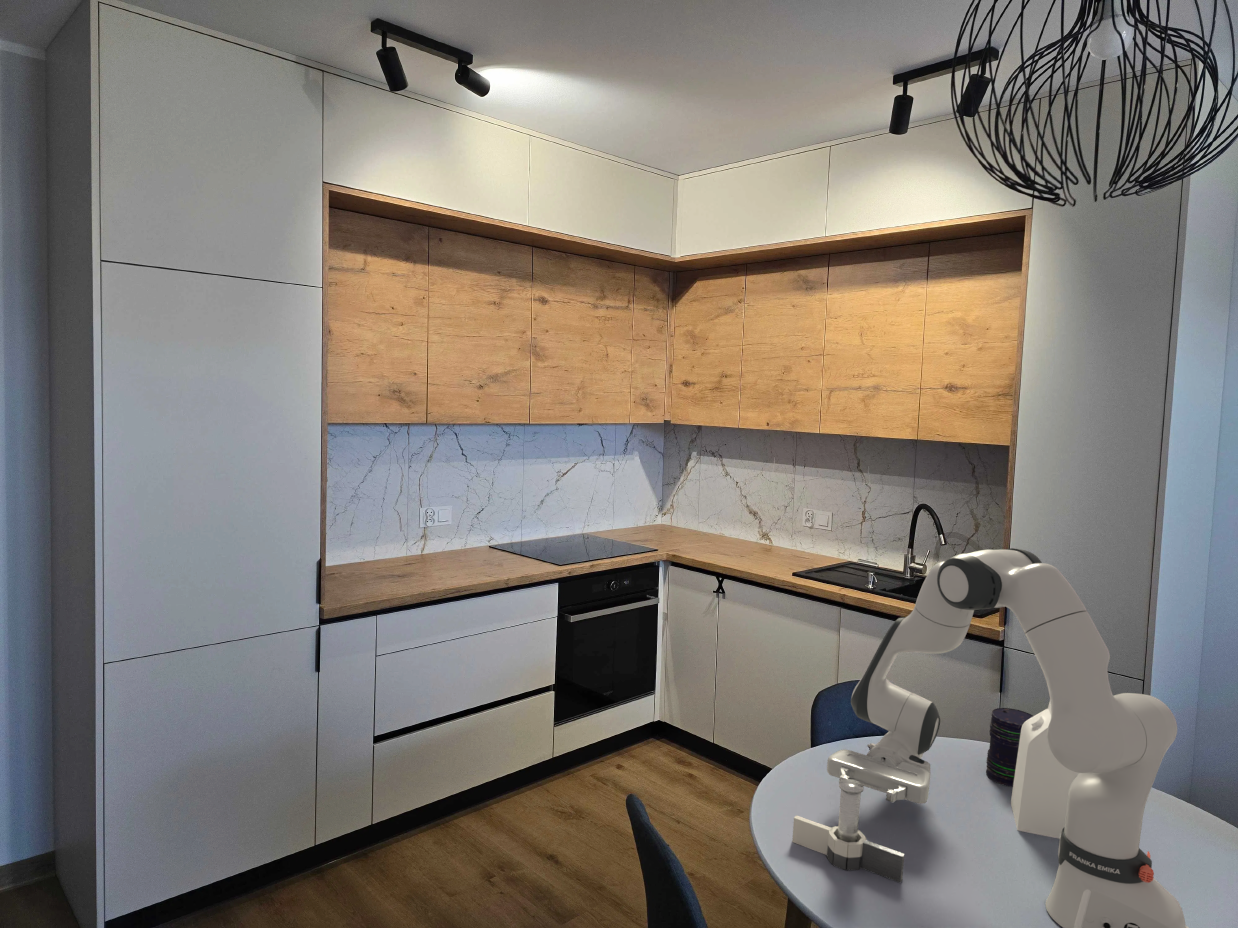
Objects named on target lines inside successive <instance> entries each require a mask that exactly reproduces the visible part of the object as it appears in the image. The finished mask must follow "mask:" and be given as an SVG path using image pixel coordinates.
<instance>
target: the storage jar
mask: <svg viewBox="0 0 1238 928" xmlns="http://www.w3.org/2000/svg"><path fill="white" fill-rule="evenodd" d="M1033 716H1034V715H1033V714H1031V713H1029V712H1027V711H1024V710H1020V709H1017V708H1010V707H1009V708H1008V707H997V708H994V709H992V710H991V717H990V722H989V723H990V724H989V736H990V737H989V738H990V739H989V747H988V749H987V755H986V770H985V775H986V777H987V778H988V779H989V780H991V781H993V782H995V783H996V784H999V785H1001V786H1005V787H1009V788H1013V784H1014V777H1015V769H1016V762H1017V755H1018V748H1019V741H1020V734H1021V728H1022V725H1023V724H1024V722H1025V721H1027V720H1028V719H1030V718H1031V717H1033Z"/></svg>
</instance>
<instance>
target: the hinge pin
mask: <svg viewBox="0 0 1238 928" xmlns="http://www.w3.org/2000/svg"><path fill="white" fill-rule="evenodd" d="M838 787H839V789H840V798H839V811H838V812H839V813H838V825H837V826H838V835H837V839H840V840H842V841H845V842H848V843H849V842H857V836H858V830H859V820H860V810H861V808H860V807H861V796H862V795H861V794H862V792H864V788H865V786H863V784H862V783H860V782H858V781H856V780H852V779H843V780H841V781H840V782H839V781H838Z"/></svg>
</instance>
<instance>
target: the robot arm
mask: <svg viewBox="0 0 1238 928" xmlns="http://www.w3.org/2000/svg"><path fill="white" fill-rule="evenodd" d="M1005 607H1006V608H1007V609H1009V610H1010V611H1011V612H1012V613H1013V614H1014V615H1015V617H1016V619H1017V620H1018V622H1019V624H1020V627H1021V629H1022V631H1023V633H1024V635H1025V637H1026V639H1027V641H1028V643H1029V645H1030V648H1031V649H1032V651H1033V654H1034V656H1035V658H1036V660H1037V662H1038V664H1039V666H1040V668H1041V670H1042V673H1043V676H1044V679H1045V682H1046V685H1047V690H1048V695H1049V702H1051V720H1050V723H1049V726H1048V730H1047V740H1048V744H1049V747H1050V750H1051V752H1052V753H1053V755H1054V757H1055V758H1056V759H1057V760H1058V761H1059V762H1060V763H1061V764H1062V765H1063V766H1064V767H1066V768H1067V769H1069V770H1071V771H1074V772H1077V773H1079V774H1078V775H1077V777H1076V778H1075V779H1074V781H1073V782H1072V784H1071V786H1070V788H1069V792H1068V801H1067V810H1066V819H1065V827H1064V828H1063V829H1062V832H1061V835H1060V839H1058V840H1059V841H1058V850H1057V851H1058V852H1057V857H1058V858H1057V860H1058V868H1057V871H1056V874H1055V879H1054V882H1053V885H1052V888H1051V890H1050V893H1049V895H1048V896H1047V898H1046V900H1045V908H1046V911H1047V913H1048V915H1049V916H1050V918H1051V919H1053V920H1054V922H1056V924H1058V925H1059V926H1060V927H1062V928H1190V927H1189V926H1188V925H1186V919H1185V914H1184V911H1183V908H1182V907H1181V904H1180V902H1179V901H1178V899H1177V898H1176V897H1175V896H1174V895H1173V894H1172V893H1170V892H1169V891H1168V890H1167V889H1166V888H1165V887H1164V886H1163V885H1162V884H1161V883H1160V882H1159V881H1157V880H1156V879H1155V878H1154V876H1155V875H1154V874H1155V872H1154V870H1153V861H1152V859H1151V853H1150V851H1147V852H1146V853H1147V854H1146V853H1145V852H1144V851H1143V850H1142V849H1141V848H1140V842H1141V836H1142V827H1143V821H1144V820H1143V818H1144V814H1145V813H1144V812H1145V808H1146V804H1147V802H1148V798H1149V795H1150V792H1151V790H1152V787H1153V784H1154V782H1155V780H1156V777H1157V774H1158V771H1159V770H1160V766H1161V764H1162V761H1163V759H1164V757H1165V755H1166V753H1167V751H1168V749H1169V748H1170V747H1171V745H1172V744H1173V743H1174V742H1175V741H1176V737H1177V735H1178V724H1177V720H1176V717H1175V715H1174V714H1173V712H1172V710H1171V709H1170V708H1169V707H1168V705H1167V704H1166V703H1164V702H1163V701H1162V700H1161V699H1159V698H1157V697H1155V696H1153V695H1150V694H1143V693H1134V692H1122V693H1117V694H1115V695H1113V692H1112V688H1111V684H1110V680H1109V675H1108V674H1109V672H1108V666H1109V663H1110V659H1111V656H1110V655H1111V654H1110V650H1109V648H1108V646H1107V644H1106V643H1105V641H1104V639H1103V637H1102V636H1101V634H1100V632H1099V630H1098V627H1097V626H1096V624H1095V622H1094V620H1093V619H1092V617H1091V615H1090V613H1089V612H1088V610H1087V608H1086V606H1085V604H1084V603H1083V601H1082V600H1081V597H1080V596H1079V595H1078V594H1077V592H1076V590H1075V588H1073V586H1072V584H1070V582H1069V581H1068V580H1067V578H1066V577H1065V576H1064V575H1063V574H1062V572H1061V571H1060V570H1059V569H1058V568H1057V567H1056V566H1054V565H1052V564H1050V563H1045V562H1042V561H1041V559H1040V558H1039V557H1038V556H1037V555H1036V554H1034V553H1033V552H1032V551H1028V550H1026V549H1022V548H1013V547H1011V548H1006V549H982V550H976V551H973V552H968V553H959V554H956V555H954V556H952V557H950V558H948V559H946V560H944V561H939V562H937V563H936V564H934V565H933V566H932V567H931V568H930V570H929V571H928V574H927V575H926V577H925V579H924V581H923V583H922V585H921V588H920V590H919V593H918V596H917V598H916V602H915V604H914V607H913V610H912V611H911V612H910V613H909V614H908V615H907V616H906V617H898V618H897V619H896V620H895V621H893V623H892V624H891V626H890V627H888V630H887V632H886V633H885V635H884V636H883V638H882V640H881V642H880V644H879V646H878V648H877V649H876V651H875V653H874V655H873V657H872V659H871V661H870V663H869V665H868V666H867V669H866V670H865V671H864V674H863V676H862V677H861V678H860V680H859V681H858V683H856V686H855V687H854V689H853V691H852V694H851V698H850V705H851V707H852V710H853V712H854V714H855V716H856V717H857V718H858V719H860V720H863V721H865V722H868V723H871V724H874V725H876V726H878V727H879V728H882V729H883V730H886V731H888V732H887V733H885V734H884V735H883V737H881V738H880V740H879V741H878V742H877V743H876V744H875V746H874V747H873V748H872V749H870V750H869V751H868V752H867V753H866V754H864V753H861V752H858V751H853V750H850V749H840V750H838V751H836V752H834V753H832V754H831V755H829V756H828V759H827V763H826V764H827V765H826V771H827V773H828V775H830V776H831V777H835V778H837V779H839V780H838V783H839V782H840V781H841V780H843V779H852V780H856V781H858V782H860V783H862V784H863V786H864V788H865V787H866V788H869V789H872V790H875V791H878V792H881V793H884V794H885V795H886V798H885V800H886V801H887V802H890V803H895V802H896V801H901V800H906V801H909V802H912V803H915V804H917V805H922V804H923V805H924V804H926V803H927V801H928V799H929V794H930V793H929V792H930V782H931V764H930V763H929V762H928V761H926V760H924V759H922V758H923V756H924V753H926V752H928V751H929V750H930V749H931V747H932V746H933V744H934V742H935V740H936V738H937V736H938V733H939V730H940V727H941V717H940V714H939V710H938V708H937V706H936V704H935V703H934V702H933V701H931V700H929V699H927V698H924V697H922V696H921V695H919V694H917V693H915V692H911V691H909V690H907V689H905V688H902V687H901V686H899V685H896V684H894V683H892V682H890V680H888V679H887V678H888V677H887V674H888V673H889V671H890V670H891V668H892V665H893V664H894V662H895V660H896V659H897V657H898V655H899V654H902V653H919V654H927V655H928V654H929V655H939V654H944V653H949V652H951V651H953V650H955V649H957V648H958V647H959V646H961V644H962V643H963V642H964V640H965V638H966V635H967V633H968V632H969V631H968V630H969V628H970V626H971V623H972V620H973V617H974V616H973V615H974V613H975V611H979V610H987V609H994V608H995V609H999V608H1000V609H1001V608H1005Z"/></svg>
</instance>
